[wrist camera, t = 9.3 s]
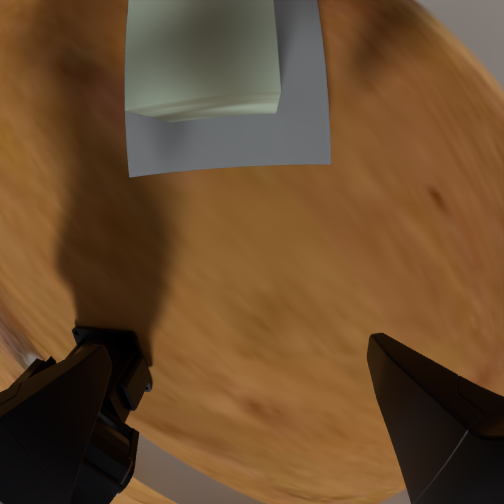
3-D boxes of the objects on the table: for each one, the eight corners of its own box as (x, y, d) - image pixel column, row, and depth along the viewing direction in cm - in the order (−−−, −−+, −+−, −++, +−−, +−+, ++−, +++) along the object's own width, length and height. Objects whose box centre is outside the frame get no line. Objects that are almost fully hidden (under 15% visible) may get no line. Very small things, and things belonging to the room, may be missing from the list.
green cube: (171, 122, 13) (125, 110, 8) (169, 33, 11) (129, -8, 7) (275, 113, 13) (280, 91, 8) (269, 22, 11) (269, -31, 6)
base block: (156, 171, 18) (129, 177, 14) (152, 30, 14) (127, 8, 11) (317, 161, 17) (331, 164, 13) (306, 15, 14) (314, -14, 10)
